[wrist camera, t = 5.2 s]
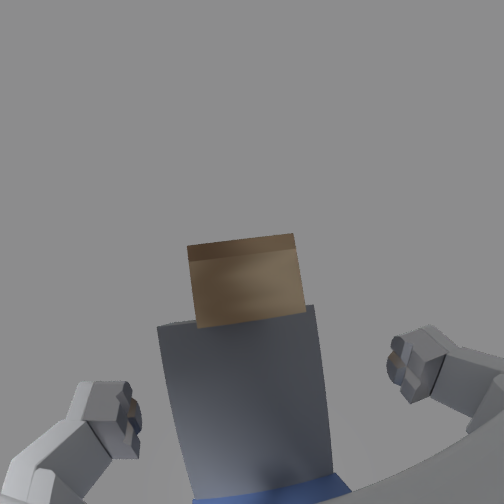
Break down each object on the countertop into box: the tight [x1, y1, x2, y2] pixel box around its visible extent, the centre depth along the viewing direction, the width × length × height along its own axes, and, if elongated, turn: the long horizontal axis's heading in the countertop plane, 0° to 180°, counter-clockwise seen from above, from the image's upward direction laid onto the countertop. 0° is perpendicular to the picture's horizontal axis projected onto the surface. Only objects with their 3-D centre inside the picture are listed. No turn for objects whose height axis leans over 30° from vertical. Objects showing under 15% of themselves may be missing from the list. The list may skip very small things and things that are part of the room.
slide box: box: [187, 233, 306, 329], centre depth 21 cm, size 4×20×3 cm, turn 7°
